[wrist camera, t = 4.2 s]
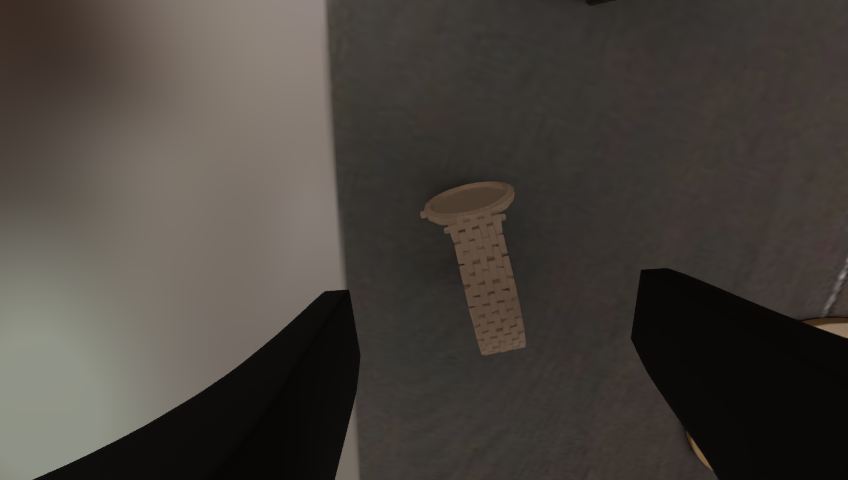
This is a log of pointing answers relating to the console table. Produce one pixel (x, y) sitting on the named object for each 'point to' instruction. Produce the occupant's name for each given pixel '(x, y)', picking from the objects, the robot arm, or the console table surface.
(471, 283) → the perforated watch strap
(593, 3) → the box
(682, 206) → the console table surface
